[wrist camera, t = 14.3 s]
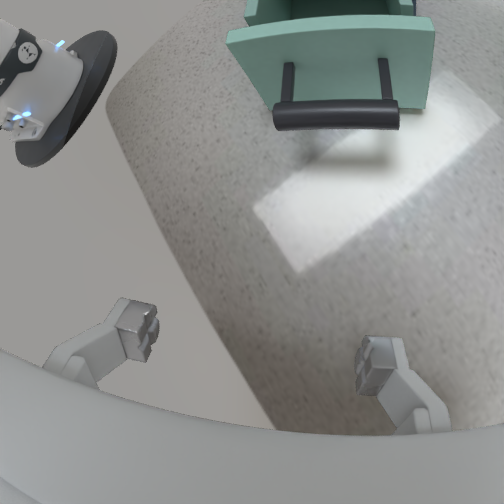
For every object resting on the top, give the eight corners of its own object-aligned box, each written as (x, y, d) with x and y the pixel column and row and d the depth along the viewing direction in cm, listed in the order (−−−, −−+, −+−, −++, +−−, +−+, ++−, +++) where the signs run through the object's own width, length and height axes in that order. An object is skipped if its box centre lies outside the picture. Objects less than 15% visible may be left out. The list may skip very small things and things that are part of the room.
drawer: (431, 169, 18) (455, 101, 10) (263, 166, 22) (210, 108, 15) (398, -3, 20) (390, -68, 12) (280, 4, 24) (251, -55, 17)
